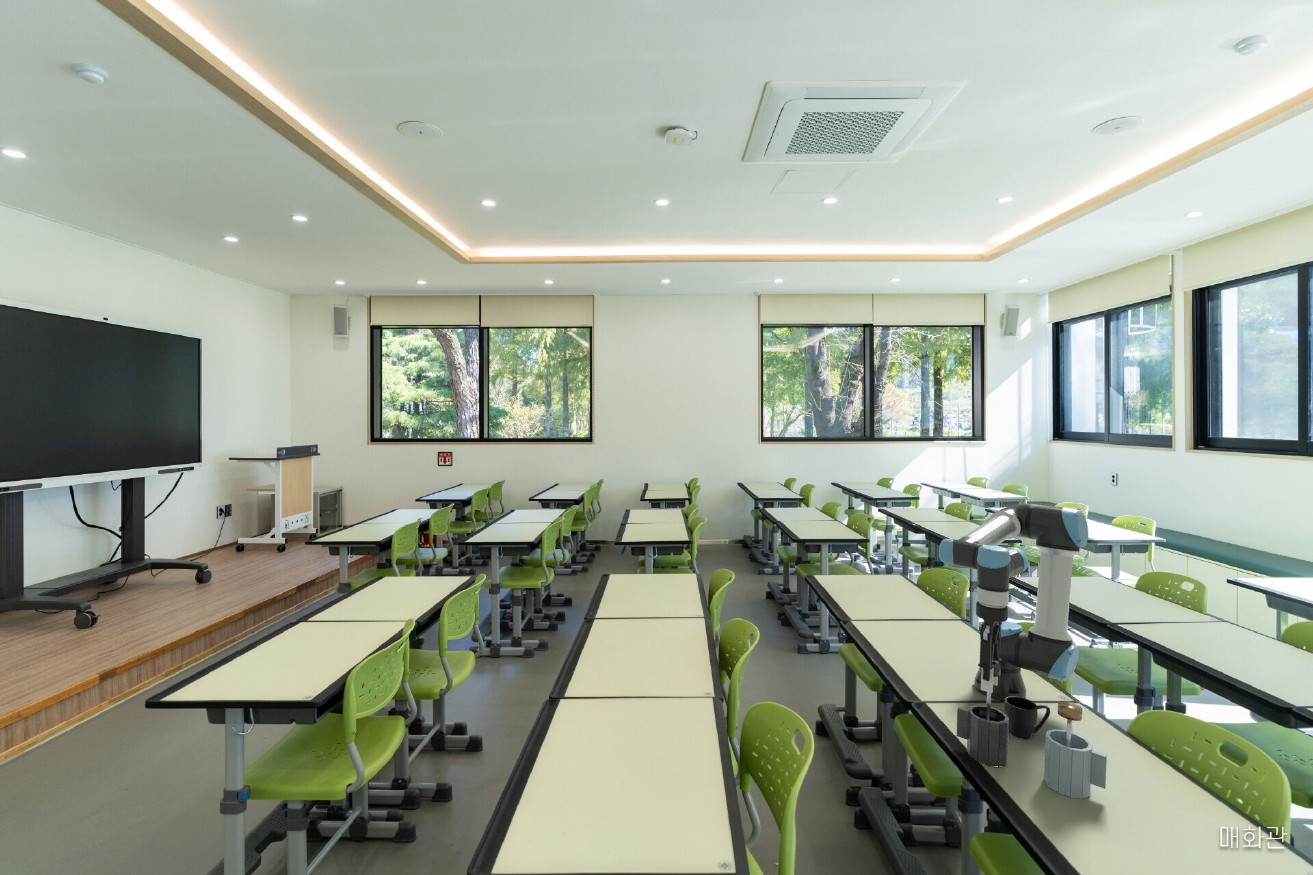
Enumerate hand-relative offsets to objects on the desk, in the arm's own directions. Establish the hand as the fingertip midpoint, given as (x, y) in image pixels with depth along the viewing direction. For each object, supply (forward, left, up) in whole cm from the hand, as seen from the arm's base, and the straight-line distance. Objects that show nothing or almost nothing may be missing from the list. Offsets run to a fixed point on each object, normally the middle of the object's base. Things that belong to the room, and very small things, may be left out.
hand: (989, 687), depth 156 cm
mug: (-20, +6, -20) cm, 29 cm away
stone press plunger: (0, +18, -16) cm, 24 cm away
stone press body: (0, +19, -20) cm, 28 cm away
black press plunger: (0, 0, -11) cm, 11 cm away
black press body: (0, -1, -20) cm, 20 cm away
